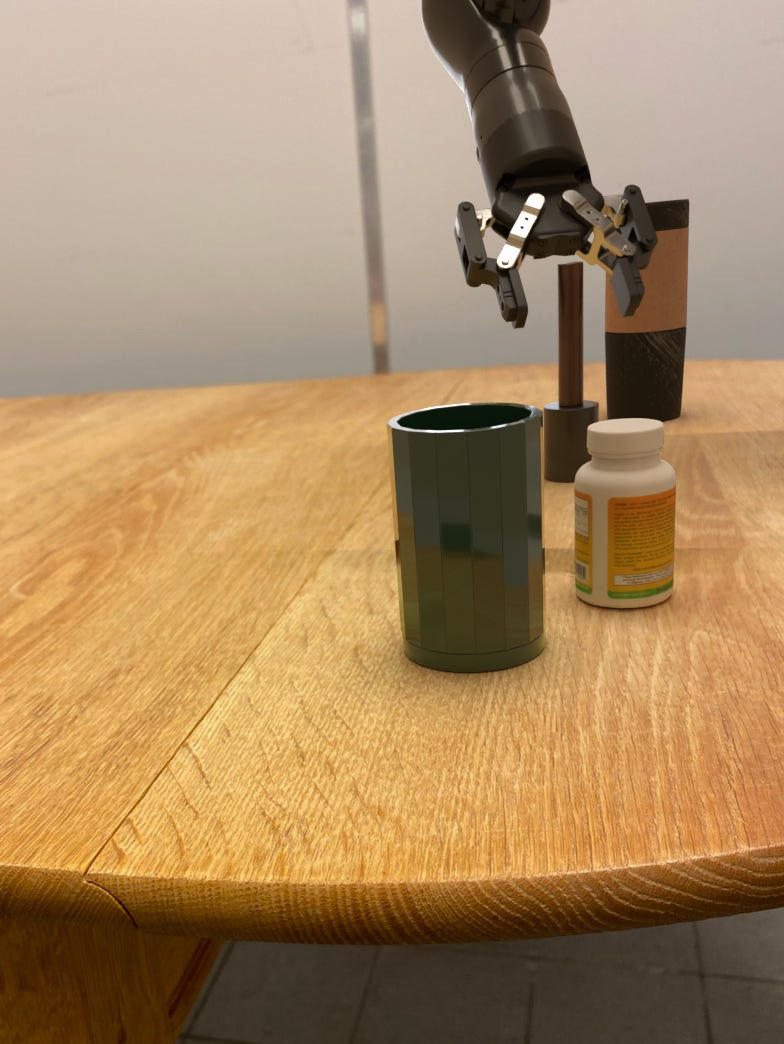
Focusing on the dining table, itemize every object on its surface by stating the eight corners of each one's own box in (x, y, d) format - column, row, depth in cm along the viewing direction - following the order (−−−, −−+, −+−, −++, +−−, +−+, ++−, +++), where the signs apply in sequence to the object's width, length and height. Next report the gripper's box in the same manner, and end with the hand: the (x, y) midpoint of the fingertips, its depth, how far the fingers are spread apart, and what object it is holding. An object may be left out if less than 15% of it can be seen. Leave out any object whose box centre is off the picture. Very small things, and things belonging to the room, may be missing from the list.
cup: (551, 620, 58) (548, 399, 54) (538, 675, 52) (533, 428, 47) (418, 618, 60) (405, 406, 56) (389, 670, 54) (372, 435, 50)
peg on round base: (599, 489, 83) (600, 258, 76) (597, 502, 79) (598, 262, 73) (547, 490, 84) (543, 263, 78) (542, 503, 80) (538, 267, 74)
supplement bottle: (690, 588, 61) (696, 417, 57) (643, 617, 57) (647, 437, 54) (605, 573, 64) (606, 412, 61) (556, 600, 61) (554, 431, 57)
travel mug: (680, 407, 110) (686, 198, 102) (687, 421, 103) (694, 198, 96) (603, 411, 112) (604, 206, 104) (605, 425, 105) (606, 207, 97)
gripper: (441, 115, 78) (485, 288, 71) (631, 96, 79) (692, 266, 72) (431, 195, 85) (470, 360, 78) (606, 177, 85) (659, 339, 79)
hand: (576, 314), depth 75 cm, fingers open, 7 cm apart
